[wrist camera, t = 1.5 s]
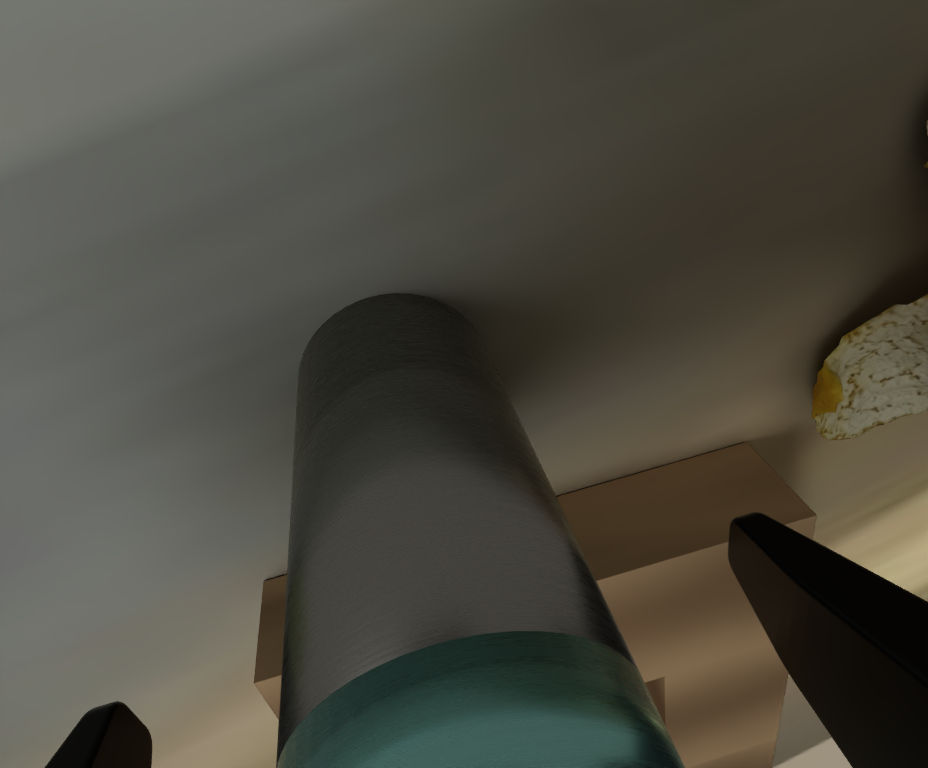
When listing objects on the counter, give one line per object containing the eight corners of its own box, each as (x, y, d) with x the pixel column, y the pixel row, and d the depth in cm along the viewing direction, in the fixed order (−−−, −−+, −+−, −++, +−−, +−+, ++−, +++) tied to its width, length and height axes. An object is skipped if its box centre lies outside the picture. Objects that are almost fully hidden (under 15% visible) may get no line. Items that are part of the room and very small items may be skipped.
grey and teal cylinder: (502, 430, 16) (708, 917, 7) (332, 477, 15) (348, 1039, 7) (470, 271, 13) (724, 728, 5) (268, 324, 13) (177, 901, 5)
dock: (722, 727, 26) (764, 803, 24) (405, 828, 26) (414, 918, 23) (746, 442, 18) (816, 515, 15) (263, 581, 17) (253, 683, 14)
